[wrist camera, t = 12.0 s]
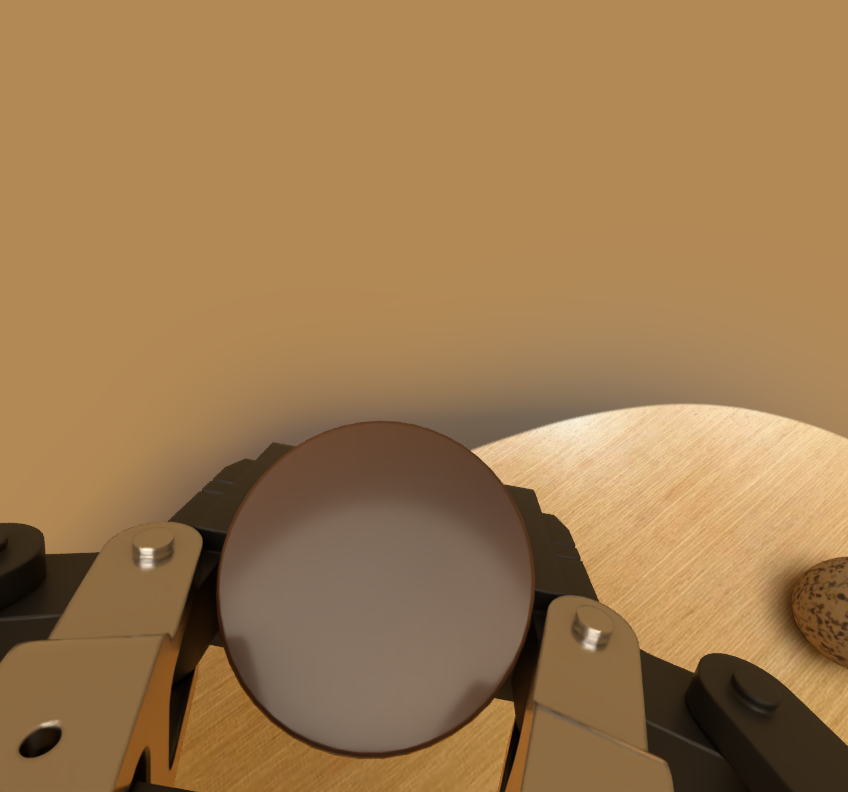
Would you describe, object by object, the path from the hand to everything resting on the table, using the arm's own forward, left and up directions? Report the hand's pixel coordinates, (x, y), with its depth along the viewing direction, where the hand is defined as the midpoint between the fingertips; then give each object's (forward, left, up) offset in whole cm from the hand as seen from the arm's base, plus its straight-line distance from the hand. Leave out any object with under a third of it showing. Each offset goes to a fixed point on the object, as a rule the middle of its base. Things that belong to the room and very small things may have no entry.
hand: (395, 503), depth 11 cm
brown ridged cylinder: (+1, -1, -4) cm, 5 cm away
